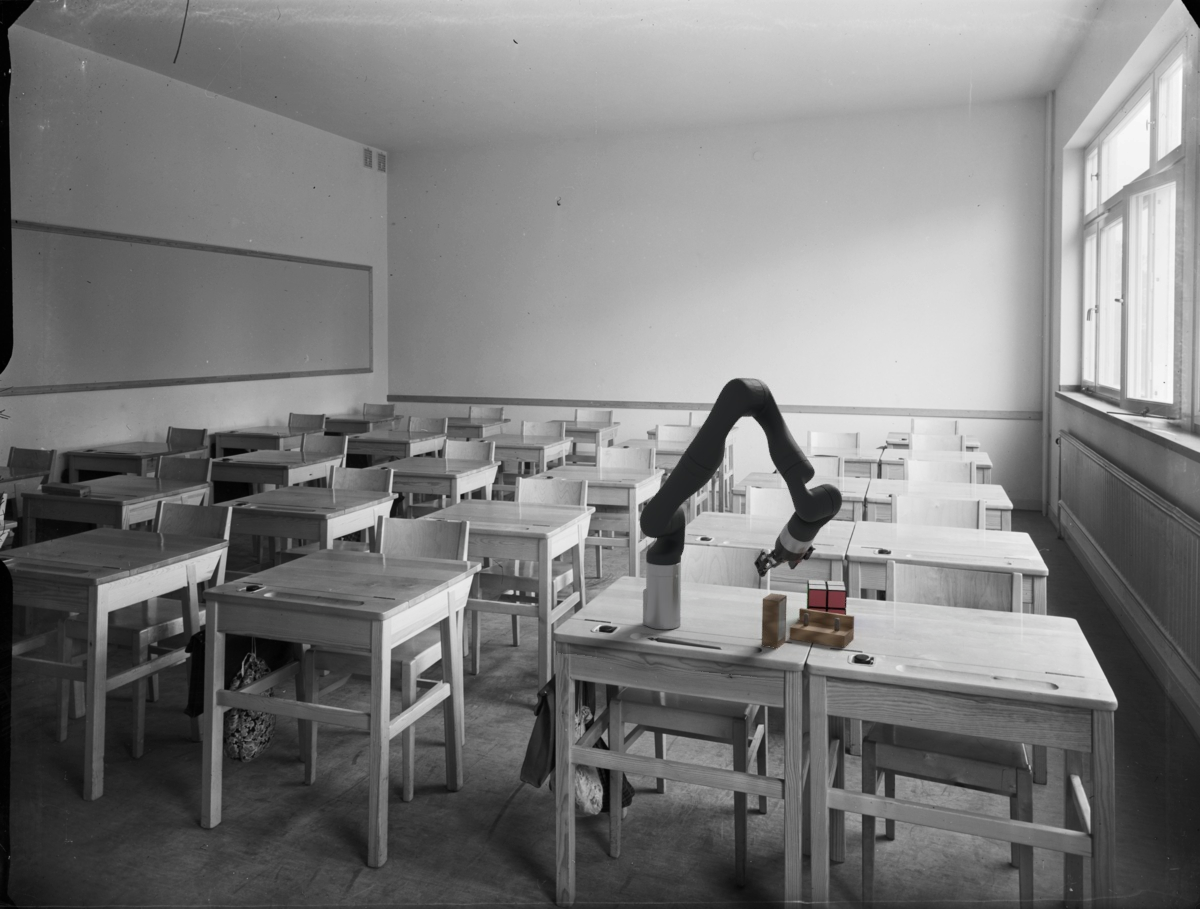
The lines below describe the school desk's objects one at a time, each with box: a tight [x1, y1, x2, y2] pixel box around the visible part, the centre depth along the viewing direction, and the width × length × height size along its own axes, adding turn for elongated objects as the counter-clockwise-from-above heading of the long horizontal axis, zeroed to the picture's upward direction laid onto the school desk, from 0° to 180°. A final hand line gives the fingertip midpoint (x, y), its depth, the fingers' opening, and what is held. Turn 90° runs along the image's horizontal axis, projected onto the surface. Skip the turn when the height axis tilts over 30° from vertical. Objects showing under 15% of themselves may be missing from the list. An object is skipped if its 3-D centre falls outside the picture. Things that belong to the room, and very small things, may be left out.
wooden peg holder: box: [789, 607, 855, 649], centre depth 233 cm, size 14×8×6 cm, turn 59°
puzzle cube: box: [806, 579, 848, 615], centre depth 248 cm, size 10×10×10 cm
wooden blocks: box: [761, 593, 788, 649], centre depth 229 cm, size 4×6×12 cm, turn 149°
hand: (775, 570), depth 232 cm, fingers open, 8 cm apart
